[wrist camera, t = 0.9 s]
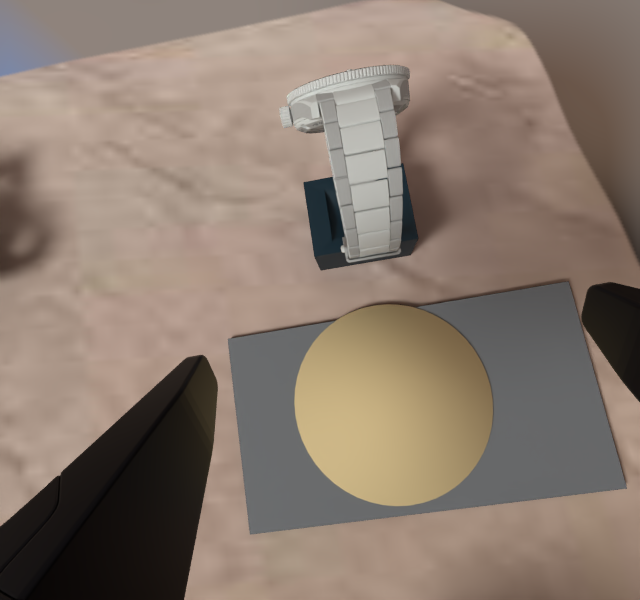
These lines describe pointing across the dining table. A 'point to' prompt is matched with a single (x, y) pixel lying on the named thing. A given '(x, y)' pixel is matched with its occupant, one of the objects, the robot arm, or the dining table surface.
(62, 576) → the robot arm
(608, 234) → the dining table surface
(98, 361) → the dining table surface
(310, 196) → the watch
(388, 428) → the mat
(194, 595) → the dining table surface
